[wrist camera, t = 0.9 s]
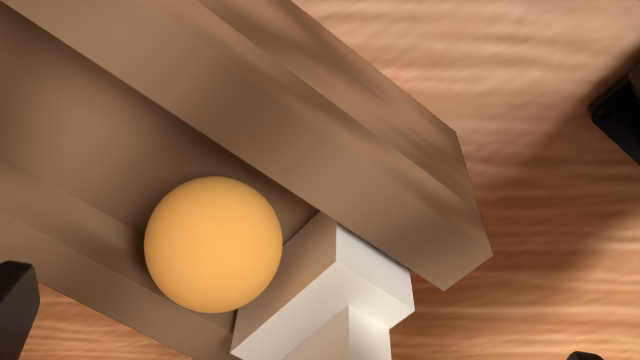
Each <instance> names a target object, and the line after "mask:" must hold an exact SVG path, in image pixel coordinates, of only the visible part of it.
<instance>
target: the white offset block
mask: <svg viewBox="0 0 640 360" xmlns="http://www.w3.org/2000/svg"><path fill="white" fill-rule="evenodd" d="M414 311H415V308H414V300H413V293H412V285H411V278H410V270H409V268H407V267H406V266H404V265H403V264H401V263H400V262H398V261H396V260H395V259H393V258H392V257H390V256H389V255H387V254H386V253H384V252H383V251H381V250H380V249H378V248H377V247H375V246H374V245H372V244H371V243H369V242H368V241H366V240H365V239H363V238H361V237H360V236H358V235H357V234H355V233H354V232H352V231H351V230H349V229H348V228H346V227H345V226H343V225H342V224H340V223H339V222H337V221H336V220H334V219H333V218H331V217H330V216H328V215H326V214H325V213H323V212H322V211H320V212H319V213H318V214H317V215H316V216H314V217H313V218H312V219H311V220H310V221H309V222H308V223H307V224H306V225H305V226H304V227H303V228H302V229H301V230H300V231H299V232H298V233H296V234H295V235H294V236H293V237H292V238H291V239H290V240H289V241H288V242H287V243H286V244H285V245H284V246H283V247H282V255H281V260H280V263H279V267H278V269H277V271H276V273H275V276H274V277H273V279H272V280H271V282H270V283H269V285H268V286H267V288H266V289H265V290H264V291H263V292H262V293H261V294H260V295H259V296H258V297H256V298H255V299H254V300H252V301H251V302H249V303H248V304H246V305H244V306H242V307H240V308H238V313H237V318H236V323H235V329H234V334H233V339H232V344H231V350H230V353H231V354H233V355H235V356H237V357H239V358H241V359H243V360H391V348H390V336H389V329H390V328H392V327H393V326H395V325H396V324H397V323H399V322H400V321H401V320H403V319H404V318H406V317H407V316H408V315H410V314H411V313H412V312H414Z"/></svg>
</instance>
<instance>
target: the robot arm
mask: <svg viewBox="0 0 640 360" xmlns="http://www.w3.org/2000/svg"><path fill="white" fill-rule="evenodd" d="M604 108H608V110H607V111H606V113H604V114H602V115H598V113H599V112H600V110H602V109H604ZM587 111H588V115H589V117H590V118H591V120H592V121H593V123H594V124H595V125H596V126H597V127H599V128H600V129H601V130H602V131H603V132H604V133H605V134H606V135H607V136H608V137H609V138H611V139H612V140H613V141H614V142H615V143H616V144H617V145H618V146H619V147H620V148H622V149H623V150H624V151H625V152H626V153H627V154H628V155H629V156H630V157H631V158H632V159H634V160H635V161H636V162H637V163H638V164H639V165H640V62H639V63H638V64H636V65H635V66H634V67H633V68H632V69H630V71H629V72H628V73H627V74H626V75H625V76H623V77H622V78H621V79H620V80H619V81H617V82H616V83H615V84H614V85H612V86H611V87H610V88H609V89H607V90H606V91H605V92H604V93H602V94H601V95H600V96H599V97H597V98H596V99H595V100H594V101H593V102H592V103H591V104H590V105H589V107H588V110H587ZM39 304H40V296H39V289H38V282H37V276H36V270H35V267H34V266H33V265H32V264H30V263H26V262H20V261H13V260H7V261H4V262H2V263H0V360H18V359H19V356H20V354H21V352H22V349H23V347H24V344H25V342H26V339H27V337H28V334H29V332H30V329H31V327H32V325H33V322H34V320H35V317H36V315H37V312H38V309H39ZM567 360H604V359H603V358H601V357H600V356H599V355H597V354H593V353H586V352H580V351H575V352H573V353H571V354H570V355H569V357H568V358H567Z"/></svg>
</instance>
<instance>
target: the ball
mask: <svg viewBox="0 0 640 360" xmlns="http://www.w3.org/2000/svg"><path fill="white" fill-rule="evenodd" d="M282 243H283V240H282V232H281V227H280V223H279V220H278V218H277V216H276V213H275V211H274V210H273V208H272V207H271V205H270V204H269V202H268V201H267V200H266V199H265V197H264V196H263V195H261V194H260V193H259V192H258V191H257V190H255V189H254V188H253V187H251V186H249V185H248V184H246V183H244V182H241V181H239V180H236V179H233V178H229V177H222V176H208V177H201V178H196V179H193V180H190V181H188V182H185V183H183V184H181V185H179V186H178V187H176V188H175V189H173V190H172V191H171V192H169V193H168V194H167V195H166V196H165V197H164V198H163V199H162V200H161V201H160V203H159V204H158V205H157V207H156V208H155V209H154V211H153V213H152V215H151V217H150V219H149V221H148V225H147V228H146V232H145V239H144V253H145V260H146V264H147V267H148V270H149V273H150V275H151V277H152V279H153V280H154V282H155V284H156V285H157V287H158V288H159V289H160V290H161V291H162V292H163V293H164V294H165V295H166V296H167V297H168V298H169V299H171V300H172V301H173V302H175V303H177V304H178V305H180V306H182V307H184V308H187V309H190V310H193V311H196V312H202V313H223V312H228V311H231V310H234V309H237V308H240V307H242V306H244V305H246V304H248V303H249V302H251V301H252V300H254V299H255V298H256V297H258V296H259V295H260V294H261V293H262V292H263V291H264V290H265V289H266V288H267V286H268V285H269V283H270V282H271V280H272V279H273V277H274V276H275V273H276V271H277V269H278V267H279V263H280V260H281V255H282Z"/></svg>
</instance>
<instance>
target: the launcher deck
mask: <svg viewBox="0 0 640 360" xmlns="http://www.w3.org/2000/svg"><path fill="white" fill-rule="evenodd" d="M208 176H222V177H229V178H233V179H236V180H239V181H241V182H244V183H246V184H248V185H249V186H251V187H253V188H254V189H255V190H257V191H258V192H259V193H260V194H261V195H263V196H264V197H265V199H266V200H267V201H268V202H269V204H270V205H271V207H272V208H273V210H274V211H275V213H276V216H277V218H278V220H279V223H280V227H281V232H282V240H283V243H282V247H283V246H284V245H285V244H286V243H287V242H288V241H289V240H290V239H291V238H292V237H293V236H294V235H295V234H296V233H298V232H299V231H300V230H301V229H302V228H303V227H304V226H305V225H306V224H307V223H308V222H309V221H310V220H311V219H312V218H313V217H314V216H316V215H317V214H318V213H319V212H320V211H322V212H323V213H325V214H326V215H328V216H330V217H331V218H333V219H334V220H336V221H337V222H339V223H340V224H342V225H343V226H345V227H346V228H348V229H349V230H351V231H352V232H354V233H355V234H357V235H358V236H360V237H361V238H363V239H365V240H366V241H368V242H369V243H371V244H372V245H374V246H375V247H377V248H378V249H380V250H381V251H383V252H384V253H386V254H387V255H389V256H390V257H392V258H393V259H395V260H396V261H398V262H400V263H401V264H403V265H404V266H406V267H407V268H409V269H410V270H412V271H413V272H415V273H416V274H418V275H419V276H421V277H422V278H424V279H425V280H427V281H428V282H430V283H431V284H433V285H435V286H436V287H438V288H439V289H441V290H442V291H445V290H446V289H448V288H449V287H450V286H452V285H453V284H455V283H456V282H457V281H459V280H460V279H461V278H463V277H464V276H466V275H467V274H468V273H470V272H471V271H472V270H474V269H475V268H477V267H478V266H479V265H481V264H482V263H483V262H485V261H486V260H488V259H489V258H490V257H492V256H493V253H492V249H491V246H490V243H489V240H488V236H487V233H486V230H485V226H484V223H483V220H482V217H481V213H480V210H479V207H478V204H477V200H476V197H475V194H474V190H473V187H472V184H471V181H470V177H469V174H468V171H467V168H466V164H465V161H464V158H463V154H462V151H461V148H460V145H459V141H458V138H457V135H456V132H455V131H453V130H452V129H451V128H450V127H448V126H447V125H446V124H445V123H443V122H442V121H441V120H440V119H438V118H437V117H436V116H435V115H433V114H432V113H431V112H430V111H428V110H427V109H426V108H425V107H423V106H422V105H421V104H420V103H418V102H417V101H416V100H415V99H413V98H412V97H411V96H410V95H408V94H407V93H406V92H404V91H403V90H402V89H401V88H399V87H398V86H397V85H396V84H394V83H393V82H392V81H391V80H389V79H388V78H387V77H386V76H384V75H383V74H382V73H381V72H379V71H378V70H377V69H376V68H374V67H373V66H372V65H371V64H369V63H368V62H367V61H366V60H364V59H363V58H362V57H361V56H359V55H358V54H357V53H356V52H354V51H353V50H352V49H351V48H349V47H348V46H347V45H346V44H344V43H343V42H342V41H341V40H339V39H338V38H337V37H336V36H334V35H333V34H332V33H331V32H329V31H328V30H327V29H326V28H324V27H323V26H322V25H321V24H319V23H318V22H317V21H316V20H314V19H313V18H312V17H311V16H309V15H308V14H307V13H306V12H304V11H303V10H302V9H301V8H299V7H298V6H297V5H296V4H294V3H293V2H292V1H291V0H0V263H2V262H4V261H7V260H13V261H20V262H26V263H30V264H32V265H33V266H34V267H35V270H36V276H37V282H39V283H41V284H43V285H46V286H48V287H50V288H52V289H54V290H56V291H58V292H60V293H62V294H64V295H66V296H68V297H70V298H72V299H74V300H76V301H78V302H80V303H82V304H84V305H86V306H88V307H90V308H92V309H94V310H96V311H98V312H100V313H102V314H104V315H106V316H108V317H110V318H112V319H114V320H116V321H118V322H120V323H122V324H124V325H126V326H128V327H130V328H132V329H134V330H136V331H138V332H140V333H142V334H144V335H146V336H148V337H150V338H152V339H154V340H156V341H158V342H160V343H163V344H165V345H167V346H169V347H171V348H173V349H175V350H177V351H179V352H181V353H183V354H185V355H187V356H189V357H191V358H193V359H195V360H243V359H241V358H239V357H237V356H235V355H233V354H231V353H230V350H231V344H232V339H233V334H234V329H235V323H236V318H237V313H238V308H237V309H234V310H231V311H228V312H223V313H202V312H196V311H193V310H190V309H187V308H184V307H182V306H180V305H178V304H177V303H175V302H173V301H172V300H171V299H169V298H168V297H167V296H166V295H165V294H164V293H163V292H162V291H161V290H160V289H159V288H158V287H157V285H156V284H155V282H154V280H153V279H152V277H151V275H150V273H149V270H148V267H147V264H146V260H145V253H144V239H145V232H146V228H147V225H148V221H149V219H150V217H151V215H152V213H153V211H154V209H155V208H156V207H157V205H158V204H159V203H160V201H161V200H162V199H163V198H164V197H165V196H166V195H167V194H168V193H169V192H171V191H172V190H173V189H175V188H176V187H178V186H179V185H181V184H183V183H185V182H188V181H190V180H193V179H196V178H201V177H208Z"/></svg>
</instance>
